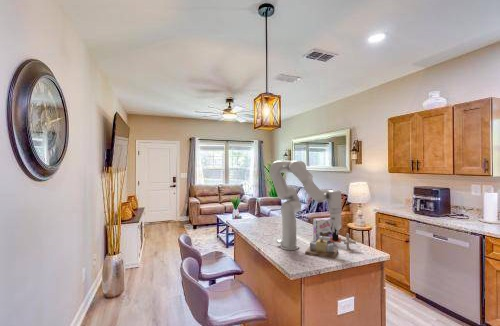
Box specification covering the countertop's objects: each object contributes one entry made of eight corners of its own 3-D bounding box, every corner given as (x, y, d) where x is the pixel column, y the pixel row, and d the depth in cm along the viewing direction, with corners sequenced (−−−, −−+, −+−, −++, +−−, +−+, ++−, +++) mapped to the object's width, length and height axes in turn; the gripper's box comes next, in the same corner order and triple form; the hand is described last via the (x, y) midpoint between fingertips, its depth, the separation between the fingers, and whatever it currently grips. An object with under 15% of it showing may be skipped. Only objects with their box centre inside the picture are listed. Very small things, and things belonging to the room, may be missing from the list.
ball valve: (309, 251, 162) (309, 239, 162) (311, 248, 167) (311, 237, 167) (332, 254, 156) (332, 242, 156) (333, 251, 161) (333, 239, 161)
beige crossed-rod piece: (343, 245, 176) (342, 231, 177) (357, 248, 170) (357, 233, 170) (337, 249, 169) (337, 234, 169) (353, 252, 162) (353, 236, 162)
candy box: (316, 242, 183) (316, 219, 183) (313, 240, 189) (312, 218, 189) (334, 241, 186) (333, 219, 186) (330, 239, 191) (329, 217, 192)
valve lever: (318, 240, 161) (318, 236, 161) (319, 239, 164) (319, 235, 164) (340, 242, 155) (340, 238, 155) (341, 241, 158) (340, 237, 158)
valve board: (305, 254, 160) (305, 251, 160) (310, 248, 171) (310, 245, 171) (335, 258, 152) (335, 256, 152) (338, 252, 163) (338, 249, 163)
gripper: (338, 213, 147) (339, 244, 147) (344, 209, 160) (344, 238, 159) (325, 211, 151) (325, 242, 151) (331, 208, 164) (332, 236, 163)
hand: (335, 240), depth 155 cm, fingers closed
